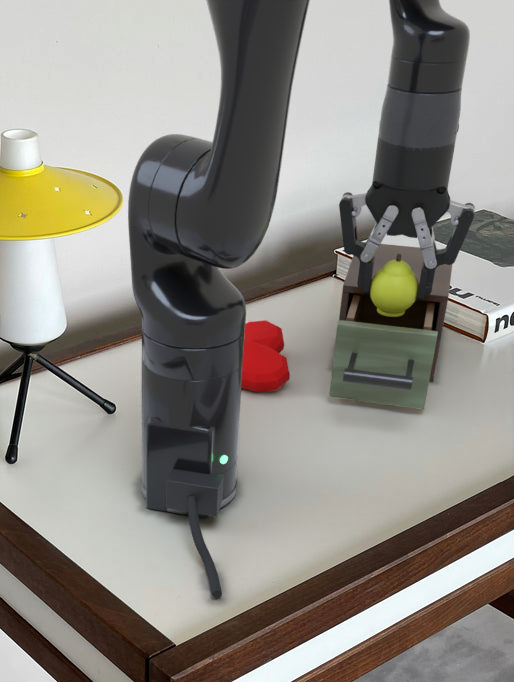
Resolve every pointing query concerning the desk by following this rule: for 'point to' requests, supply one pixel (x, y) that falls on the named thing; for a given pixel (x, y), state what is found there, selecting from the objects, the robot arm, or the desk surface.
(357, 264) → the cabinet
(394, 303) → the pear
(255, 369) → the heart
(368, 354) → the drawer
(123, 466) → the desk surface
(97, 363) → the desk surface
